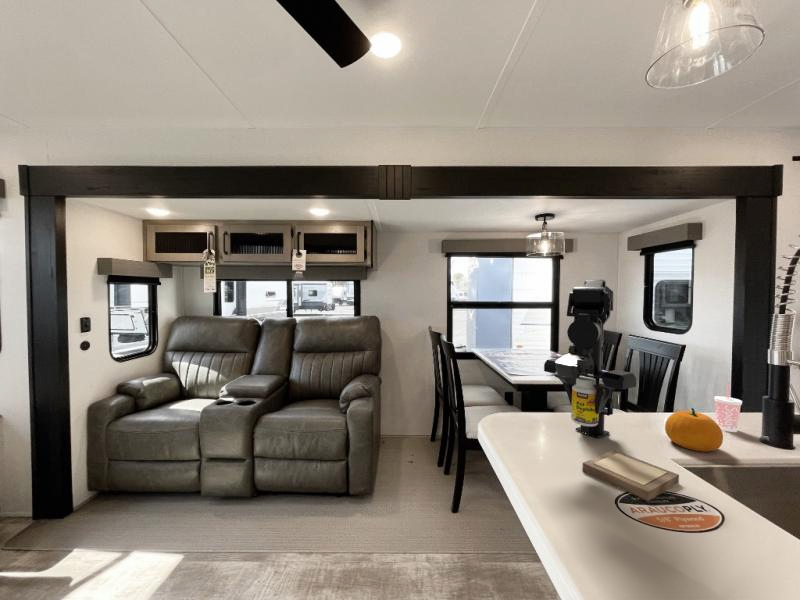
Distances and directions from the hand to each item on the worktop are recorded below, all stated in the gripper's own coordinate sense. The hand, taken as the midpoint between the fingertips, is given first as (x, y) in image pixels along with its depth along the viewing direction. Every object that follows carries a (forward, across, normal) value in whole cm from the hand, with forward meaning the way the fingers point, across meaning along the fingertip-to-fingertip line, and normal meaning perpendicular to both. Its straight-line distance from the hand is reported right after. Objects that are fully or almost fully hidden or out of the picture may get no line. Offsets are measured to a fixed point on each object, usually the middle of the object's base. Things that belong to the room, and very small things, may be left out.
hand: (585, 409), depth 80 cm
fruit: (+13, +7, +36) cm, 39 cm away
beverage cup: (+13, +7, +60) cm, 62 cm away
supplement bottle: (+3, 0, 0) cm, 3 cm away
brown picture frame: (+13, +8, +4) cm, 16 cm away
